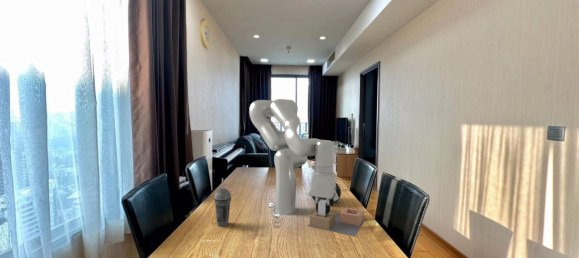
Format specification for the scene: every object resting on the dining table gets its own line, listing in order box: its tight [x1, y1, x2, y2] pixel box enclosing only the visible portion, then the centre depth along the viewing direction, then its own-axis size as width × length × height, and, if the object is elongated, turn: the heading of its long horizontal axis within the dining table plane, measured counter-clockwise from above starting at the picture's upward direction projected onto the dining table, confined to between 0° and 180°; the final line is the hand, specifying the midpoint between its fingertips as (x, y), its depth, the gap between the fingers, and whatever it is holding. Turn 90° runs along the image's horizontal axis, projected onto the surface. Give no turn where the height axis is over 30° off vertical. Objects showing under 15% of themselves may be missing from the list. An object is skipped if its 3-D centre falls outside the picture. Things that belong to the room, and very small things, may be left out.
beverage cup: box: [213, 177, 232, 228], centre depth 116 cm, size 7×7×20 cm
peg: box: [318, 200, 328, 218], centre depth 114 cm, size 3×3×10 cm
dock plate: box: [307, 206, 366, 237], centre depth 117 cm, size 20×20×6 cm
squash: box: [320, 182, 342, 206], centre depth 147 cm, size 14×15×15 cm
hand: (322, 212), depth 114 cm, fingers closed on peg, 3 cm apart
